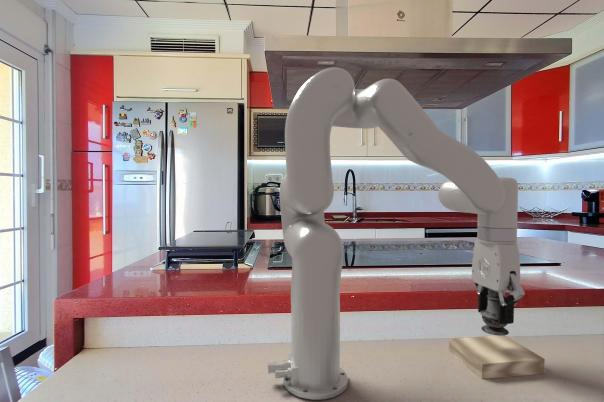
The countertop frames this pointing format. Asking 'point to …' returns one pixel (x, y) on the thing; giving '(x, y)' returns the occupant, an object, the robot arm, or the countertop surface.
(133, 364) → the countertop surface
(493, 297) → the weathered stone finial
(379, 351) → the countertop surface
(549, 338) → the countertop surface
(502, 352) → the birch base block
